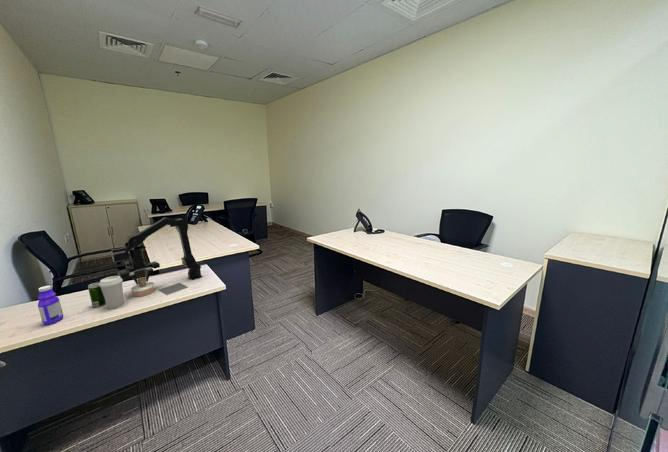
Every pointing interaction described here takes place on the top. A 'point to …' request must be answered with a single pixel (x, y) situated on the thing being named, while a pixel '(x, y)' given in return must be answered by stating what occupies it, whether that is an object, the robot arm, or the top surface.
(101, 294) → the beer can
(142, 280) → the lid
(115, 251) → the robot arm
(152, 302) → the top surface
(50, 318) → the bottle
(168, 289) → the mat
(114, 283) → the coffee cup
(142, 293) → the bowl
